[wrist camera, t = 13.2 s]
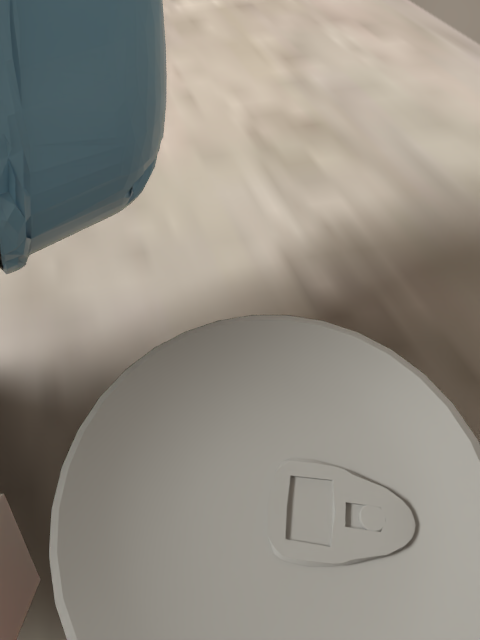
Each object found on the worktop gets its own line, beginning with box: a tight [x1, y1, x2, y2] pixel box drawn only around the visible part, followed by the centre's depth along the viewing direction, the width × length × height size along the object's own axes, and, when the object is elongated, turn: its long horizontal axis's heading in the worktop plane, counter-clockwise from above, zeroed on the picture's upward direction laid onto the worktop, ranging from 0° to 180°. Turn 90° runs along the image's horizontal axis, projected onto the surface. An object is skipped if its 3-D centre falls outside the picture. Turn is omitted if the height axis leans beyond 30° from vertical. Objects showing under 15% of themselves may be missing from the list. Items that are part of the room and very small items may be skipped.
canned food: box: [49, 315, 480, 640], centre depth 12 cm, size 8×8×11 cm
